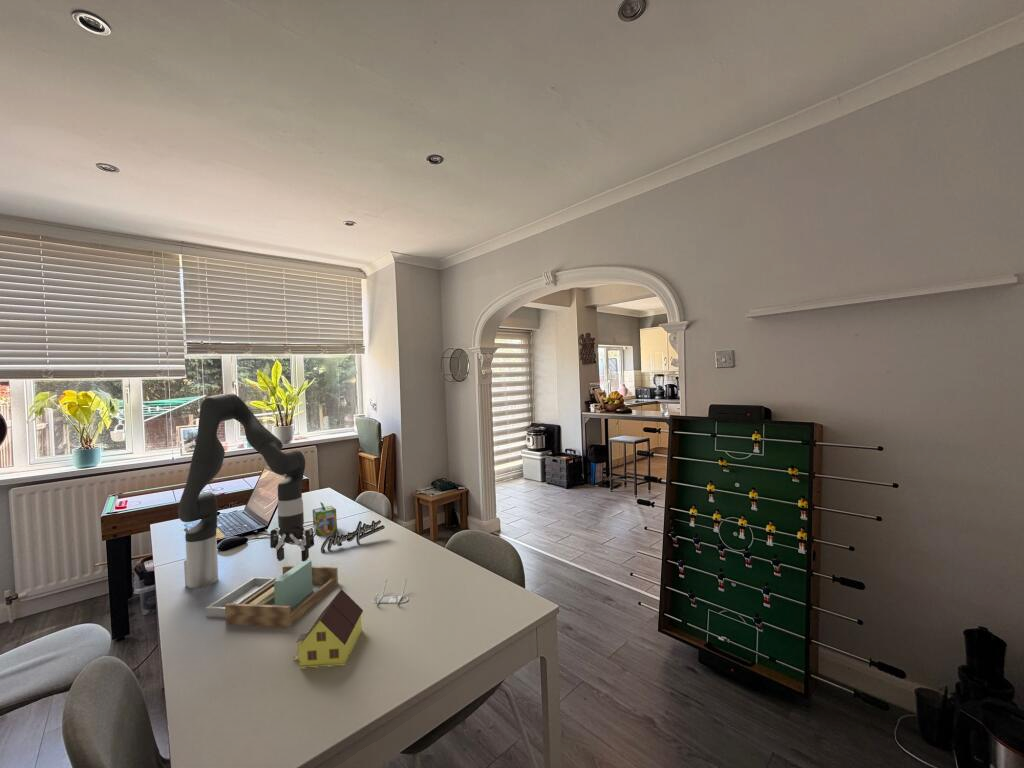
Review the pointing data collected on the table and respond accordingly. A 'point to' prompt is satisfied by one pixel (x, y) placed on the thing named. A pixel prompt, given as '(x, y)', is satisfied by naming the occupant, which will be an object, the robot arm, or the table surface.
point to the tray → (238, 595)
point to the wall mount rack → (390, 599)
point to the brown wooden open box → (278, 613)
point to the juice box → (324, 520)
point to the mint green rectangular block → (294, 585)
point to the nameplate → (352, 535)
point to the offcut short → (264, 597)
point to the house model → (331, 634)
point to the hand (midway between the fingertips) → (293, 560)
